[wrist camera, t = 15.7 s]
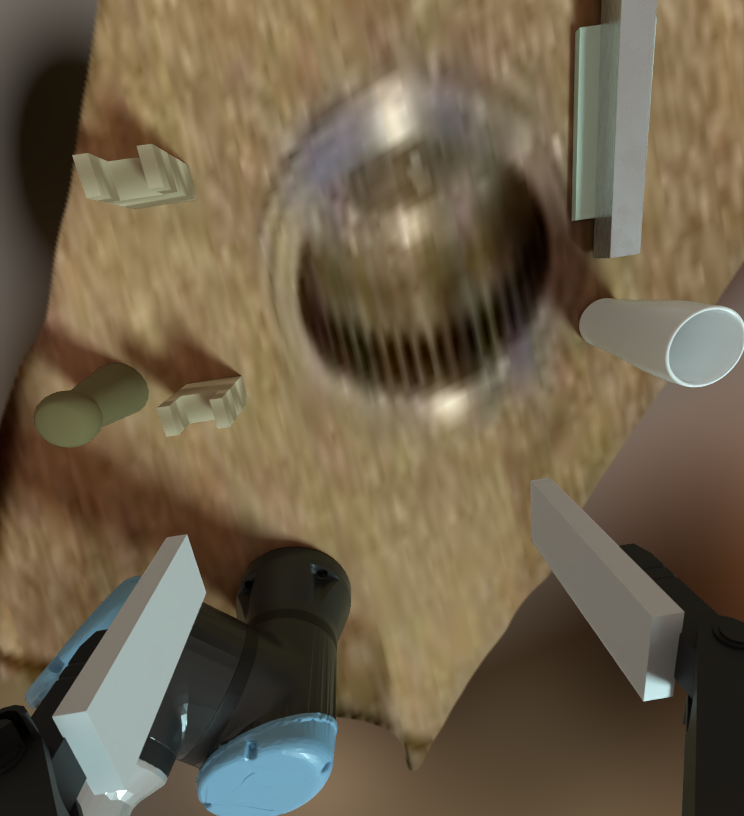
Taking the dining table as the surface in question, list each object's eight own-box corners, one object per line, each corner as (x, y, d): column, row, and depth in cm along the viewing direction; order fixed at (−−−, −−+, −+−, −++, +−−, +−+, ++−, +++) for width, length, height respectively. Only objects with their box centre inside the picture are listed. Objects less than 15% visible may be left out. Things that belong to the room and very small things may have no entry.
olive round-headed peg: (81, 371, 46) (5, 403, 36) (133, 356, 46) (72, 385, 36) (107, 420, 48) (42, 465, 38) (157, 406, 48) (106, 447, 38)
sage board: (637, 211, 44) (642, 210, 43) (571, 221, 44) (575, 220, 43) (650, 21, 39) (656, 16, 38) (575, 32, 39) (579, 27, 38)
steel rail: (621, 253, 45) (640, 253, 42) (593, 258, 45) (610, 258, 42) (636, -39, 36) (661, -64, 34) (602, -34, 36) (624, -59, 34)
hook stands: (247, 400, 48) (230, 427, 41) (194, 408, 48) (166, 436, 41) (188, 165, 40) (151, 143, 33) (123, 174, 40) (72, 155, 33)
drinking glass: (592, 363, 49) (691, 404, 35) (558, 321, 47) (648, 348, 33) (640, 321, 48) (763, 347, 34) (607, 277, 46) (723, 285, 32)
